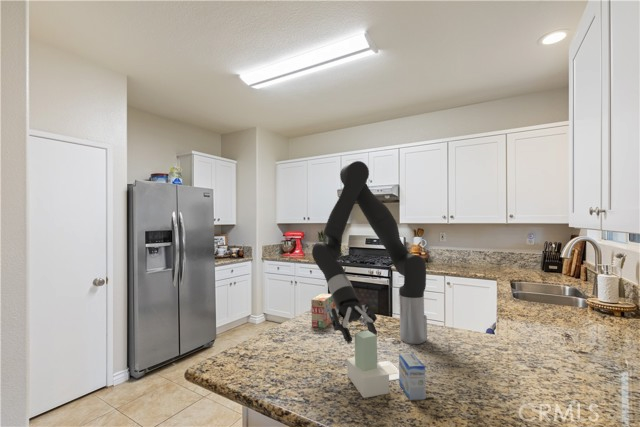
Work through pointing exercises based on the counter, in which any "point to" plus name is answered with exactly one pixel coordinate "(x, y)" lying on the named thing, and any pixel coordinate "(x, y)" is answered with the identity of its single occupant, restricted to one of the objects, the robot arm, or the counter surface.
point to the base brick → (368, 379)
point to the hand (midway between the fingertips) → (362, 339)
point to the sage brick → (366, 350)
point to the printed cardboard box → (322, 310)
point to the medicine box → (412, 376)
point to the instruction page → (390, 370)
